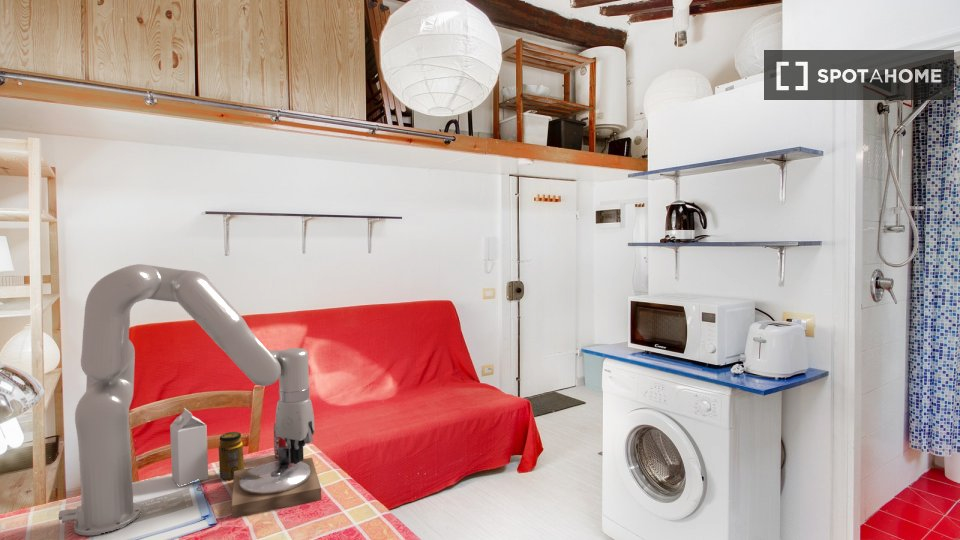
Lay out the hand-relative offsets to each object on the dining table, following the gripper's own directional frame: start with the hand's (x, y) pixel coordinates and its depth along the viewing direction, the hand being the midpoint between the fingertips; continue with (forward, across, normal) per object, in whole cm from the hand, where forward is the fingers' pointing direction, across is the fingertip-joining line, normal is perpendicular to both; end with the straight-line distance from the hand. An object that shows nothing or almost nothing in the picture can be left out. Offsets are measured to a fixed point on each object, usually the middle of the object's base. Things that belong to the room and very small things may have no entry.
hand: (297, 461), depth 137 cm
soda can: (+5, -14, +10) cm, 18 cm away
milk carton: (+5, -27, -12) cm, 30 cm away
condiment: (+6, -18, -6) cm, 20 cm away
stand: (+5, 0, -7) cm, 8 cm away
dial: (+2, 0, -7) cm, 7 cm away
